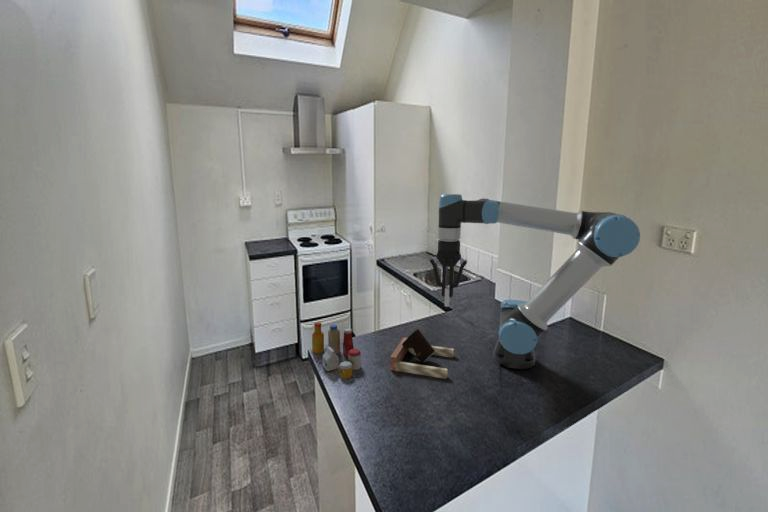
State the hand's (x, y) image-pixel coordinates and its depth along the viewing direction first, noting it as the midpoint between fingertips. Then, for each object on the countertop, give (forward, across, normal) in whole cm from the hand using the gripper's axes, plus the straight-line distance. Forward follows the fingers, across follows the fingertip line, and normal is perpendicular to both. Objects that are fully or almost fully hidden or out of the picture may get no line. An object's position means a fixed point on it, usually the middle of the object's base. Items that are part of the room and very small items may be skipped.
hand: (447, 305), depth 132 cm
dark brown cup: (+21, +6, 0) cm, 22 cm away
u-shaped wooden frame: (+23, +7, +1) cm, 24 cm away
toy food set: (+23, +39, +9) cm, 46 cm away
